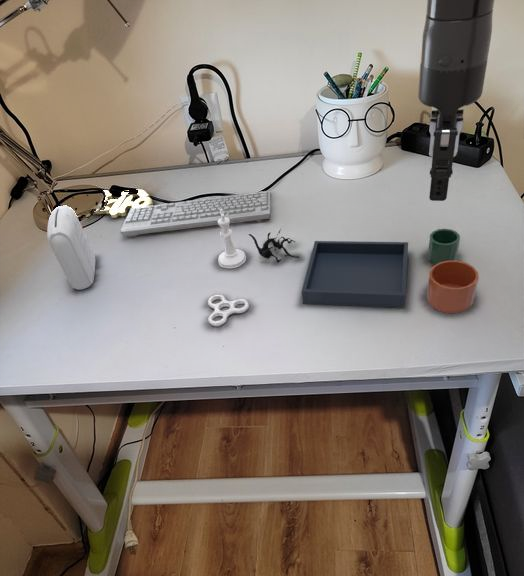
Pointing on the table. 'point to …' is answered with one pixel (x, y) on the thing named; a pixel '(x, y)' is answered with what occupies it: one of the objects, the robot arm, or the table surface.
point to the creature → (266, 250)
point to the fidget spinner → (227, 312)
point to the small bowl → (443, 246)
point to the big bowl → (452, 286)
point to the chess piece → (229, 246)
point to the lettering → (124, 203)
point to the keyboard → (197, 213)
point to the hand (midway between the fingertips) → (439, 183)
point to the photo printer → (71, 247)
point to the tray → (357, 274)
